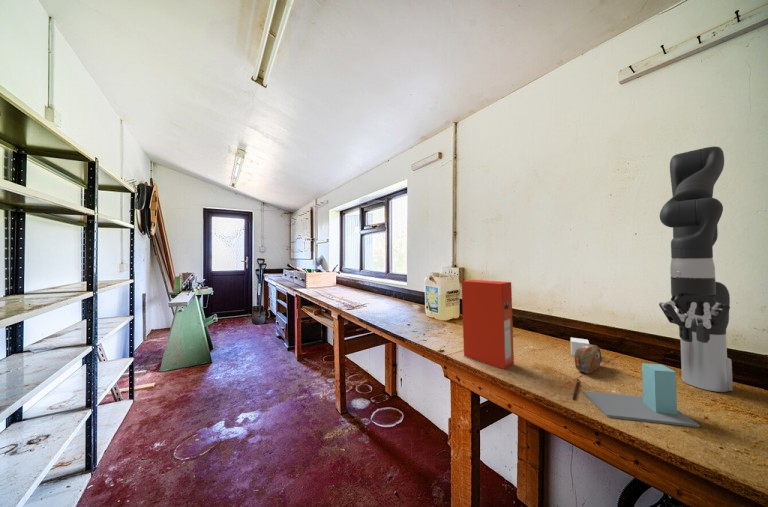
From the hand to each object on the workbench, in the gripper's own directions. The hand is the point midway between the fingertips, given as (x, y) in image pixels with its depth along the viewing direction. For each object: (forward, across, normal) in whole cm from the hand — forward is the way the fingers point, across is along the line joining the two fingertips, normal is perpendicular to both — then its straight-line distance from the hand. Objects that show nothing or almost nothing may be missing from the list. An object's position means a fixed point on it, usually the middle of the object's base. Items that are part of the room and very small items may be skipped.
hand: (694, 341), depth 67 cm
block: (+18, +8, 0) cm, 20 cm away
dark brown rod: (+20, +24, -8) cm, 32 cm away
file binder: (+19, +48, -27) cm, 58 cm away
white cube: (+19, +9, -40) cm, 45 cm away
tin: (+19, +13, -25) cm, 34 cm away
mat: (+19, +14, 0) cm, 23 cm away
